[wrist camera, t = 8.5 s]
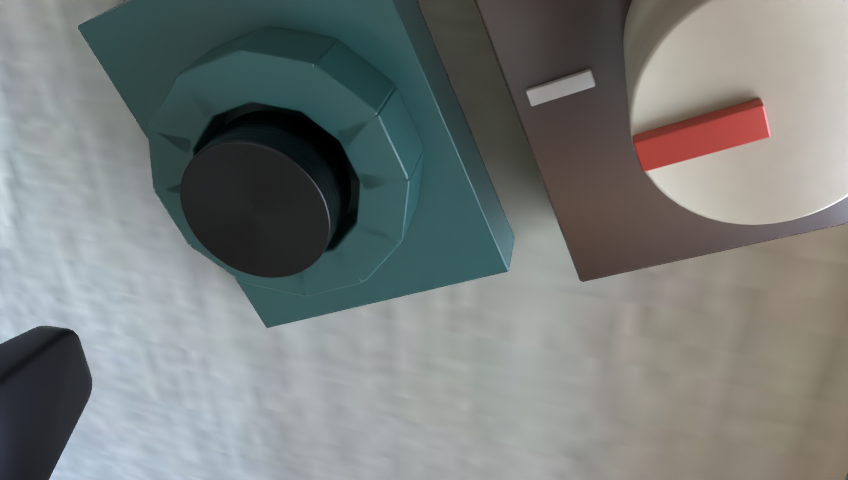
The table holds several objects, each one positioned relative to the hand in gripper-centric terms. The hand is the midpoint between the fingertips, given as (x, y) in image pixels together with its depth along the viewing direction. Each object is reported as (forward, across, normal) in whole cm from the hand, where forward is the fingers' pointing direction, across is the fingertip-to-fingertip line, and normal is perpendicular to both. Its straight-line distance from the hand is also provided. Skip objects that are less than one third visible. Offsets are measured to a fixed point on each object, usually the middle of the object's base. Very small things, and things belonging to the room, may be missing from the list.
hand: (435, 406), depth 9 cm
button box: (+12, +6, +2) cm, 14 cm away
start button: (+9, +6, +2) cm, 11 cm away
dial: (+9, -4, -2) cm, 10 cm away
